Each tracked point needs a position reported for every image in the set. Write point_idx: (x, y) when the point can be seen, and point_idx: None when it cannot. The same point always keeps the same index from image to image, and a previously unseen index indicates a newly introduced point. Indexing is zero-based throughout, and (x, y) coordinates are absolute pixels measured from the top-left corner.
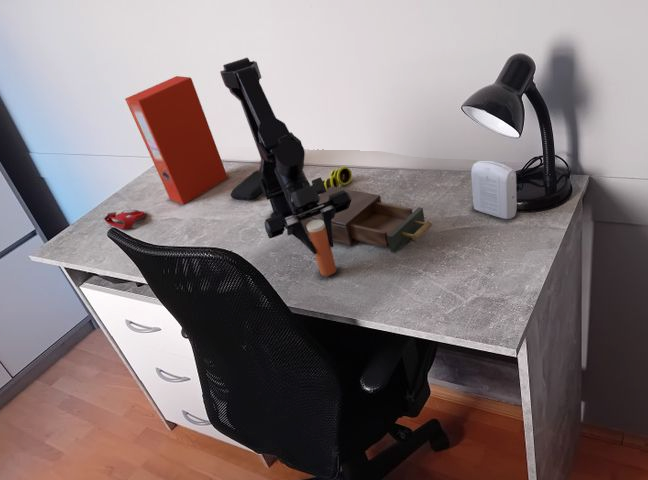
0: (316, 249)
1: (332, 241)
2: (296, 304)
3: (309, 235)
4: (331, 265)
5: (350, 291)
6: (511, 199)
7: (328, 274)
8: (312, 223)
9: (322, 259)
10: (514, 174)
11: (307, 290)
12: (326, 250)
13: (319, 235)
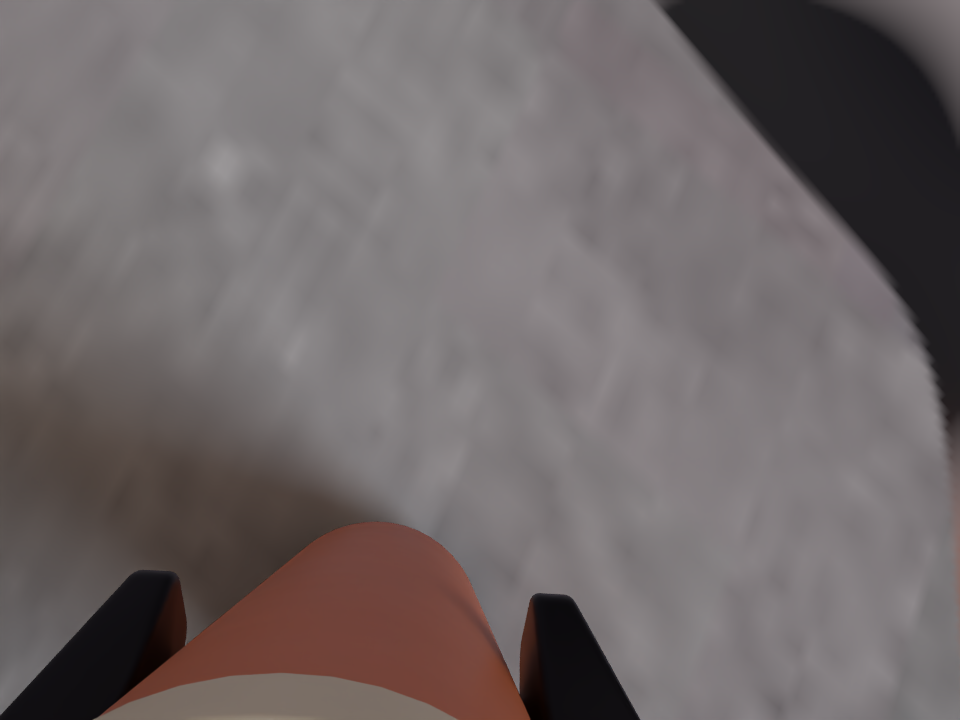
0: (498, 655)
1: (86, 633)
2: (904, 331)
3: None
4: (333, 537)
5: (330, 128)
6: None
7: (413, 529)
8: None
9: (438, 568)
10: None
11: (718, 483)
12: (316, 568)
13: (341, 646)
